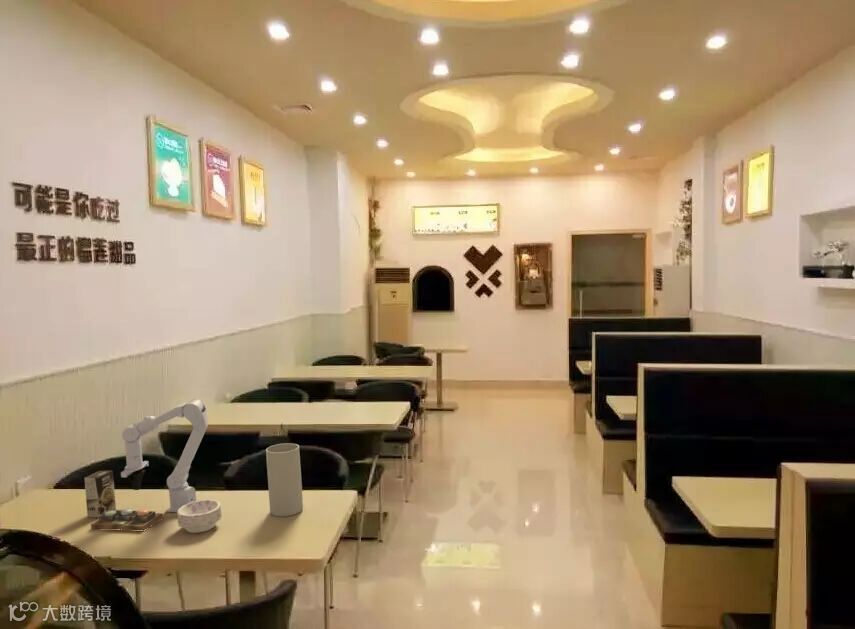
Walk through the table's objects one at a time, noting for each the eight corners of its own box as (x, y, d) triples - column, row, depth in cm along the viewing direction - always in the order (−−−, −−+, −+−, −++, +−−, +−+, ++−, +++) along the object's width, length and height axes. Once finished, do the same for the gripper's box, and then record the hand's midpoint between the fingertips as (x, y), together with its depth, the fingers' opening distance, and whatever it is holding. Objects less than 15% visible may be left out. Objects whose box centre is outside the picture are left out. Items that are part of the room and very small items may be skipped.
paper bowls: (181, 540, 229) (179, 518, 228) (176, 525, 242) (174, 504, 242) (225, 530, 236) (224, 509, 235) (218, 516, 249) (217, 496, 248)
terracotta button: (151, 513, 246) (151, 509, 246) (144, 517, 242) (144, 513, 242) (142, 513, 247) (141, 508, 247) (135, 517, 243) (135, 512, 243)
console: (163, 518, 250) (162, 508, 249) (143, 531, 238) (142, 520, 238) (112, 516, 254) (111, 506, 254) (91, 529, 242) (90, 518, 242)
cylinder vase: (280, 520, 243) (275, 454, 241) (264, 511, 252) (260, 448, 250) (309, 510, 251) (305, 447, 249) (292, 502, 260) (288, 441, 258)
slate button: (135, 512, 247) (134, 508, 247) (128, 516, 243) (127, 512, 243) (125, 512, 248) (125, 508, 248) (118, 516, 244) (118, 512, 244)
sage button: (118, 514, 249) (118, 510, 249) (112, 518, 245) (111, 514, 245) (109, 514, 250) (109, 510, 249) (102, 518, 246) (102, 514, 245)
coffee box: (101, 518, 253) (97, 477, 252) (86, 517, 255) (83, 477, 253) (116, 509, 262) (113, 470, 261) (102, 508, 263) (99, 469, 262)
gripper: (136, 450, 263) (139, 482, 264) (112, 461, 249) (115, 495, 250) (152, 450, 262) (154, 483, 263) (129, 461, 248) (132, 496, 249)
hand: (136, 489), depth 257 cm, fingers closed
